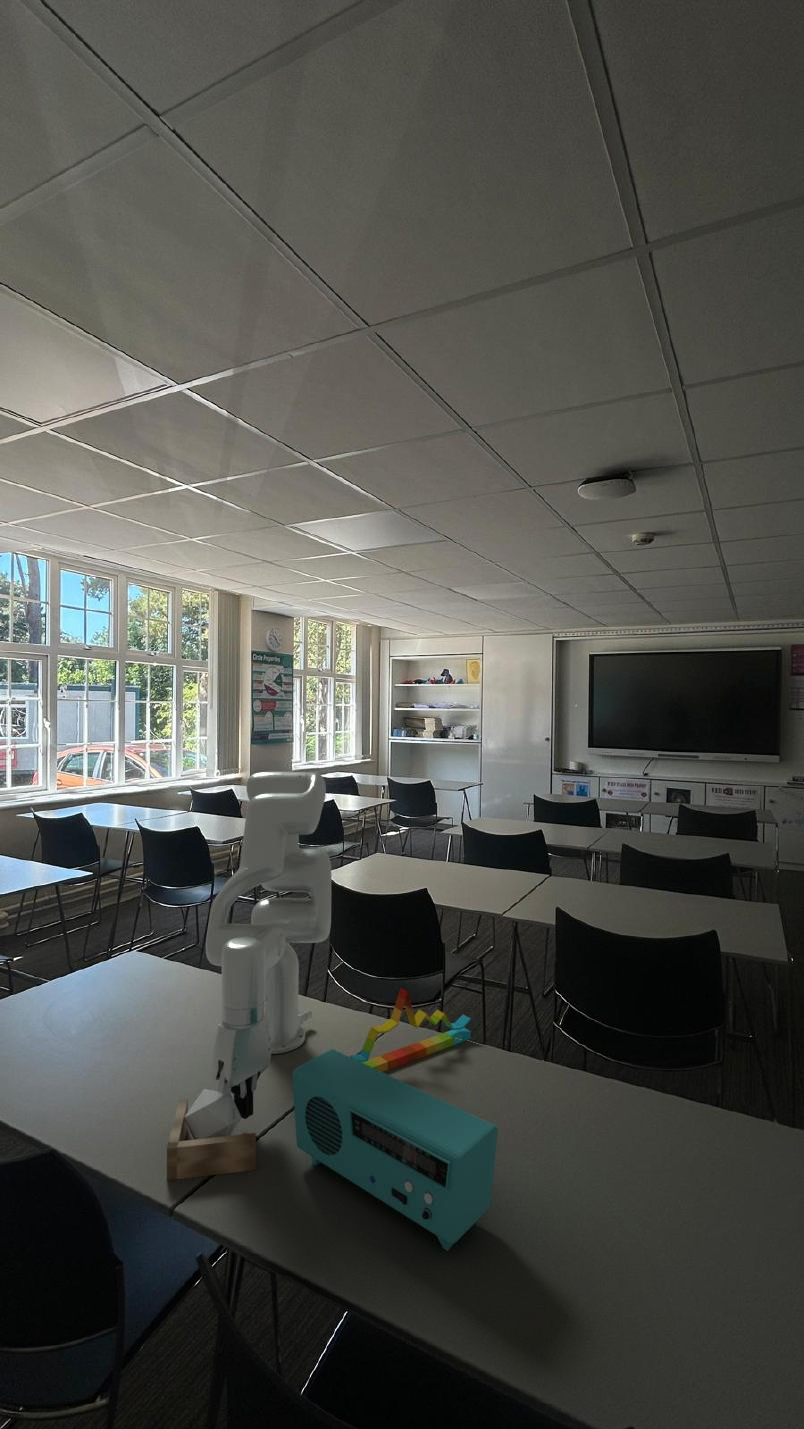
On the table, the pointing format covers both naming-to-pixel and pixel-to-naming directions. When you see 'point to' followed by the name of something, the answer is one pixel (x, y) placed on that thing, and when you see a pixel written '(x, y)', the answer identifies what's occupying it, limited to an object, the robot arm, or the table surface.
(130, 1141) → the table surface
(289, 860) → the robot arm
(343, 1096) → the radio
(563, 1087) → the table surface
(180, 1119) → the bracket
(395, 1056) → the chart
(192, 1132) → the die
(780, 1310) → the table surface
